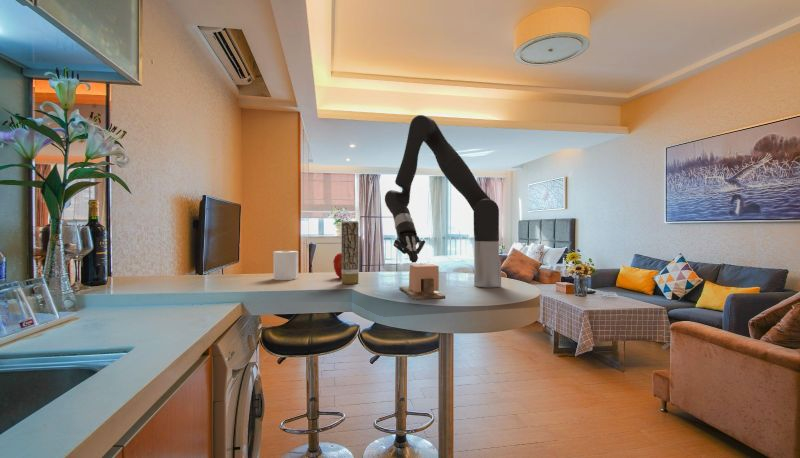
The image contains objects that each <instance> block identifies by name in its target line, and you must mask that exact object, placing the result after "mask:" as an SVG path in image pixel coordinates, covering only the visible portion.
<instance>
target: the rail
mask: <svg viewBox="0 0 800 458" xmlns="http://www.w3.org/2000/svg"><path fill="white" fill-rule="evenodd" d="M408 273H409V274H408V275H409V278H408V285H409V286H407V285H406V286H399V290H400V289H401V290H400V291H402V290H403V291H404V292H403V291H402V292H403V293H405V292H406V293H407V294H409V295H410V296H411V297H410V296H409V295H408V296H409V297H410V298H412V297H413V298H414V300H415V299H420V300H431V299H430V298H439V299H446V295H445V294H443V293H442V292H440V291H434V279H421V292H414V291H413V290H411V289H410V272H408ZM406 293H405V294H406ZM407 294H406V295H407ZM413 298H412V299H413ZM428 298H429V299H428Z"/></svg>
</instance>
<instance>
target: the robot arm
mask: <svg viewBox="0 0 800 458" xmlns="http://www.w3.org/2000/svg"><path fill="white" fill-rule="evenodd" d="M408 128H409V129H408V133H407V139H406V144H405V148H404V153H403V157H402V160H401V163H400V166H399V168H398V172H397V175H396V177H395V181H394V184H395V185H396V186H397V187H400V188H402V191H399V190H394V189H389V190H388V191H387V192H386V193H385V195H384V202H385V206H386V207H387V209H388V211H389V212H390V213H391V214H392V217H393V222H394V228H395V231H396V235H397V236H396V237H397V239H395V240H394V242H393V246H394V247H395V248H396V249H397V250H398V251H400V252H401V253H402V254H404V255H407V256H408V258H409V261H410V262H411V263H413V264H414V263H417V262H418V259H419V257H418V255H419V254H420V253H421V251H422V249H423V248H424V246H425V244H426V240H425V239H424V240H421V239H420V237H419V236H418V234H417V230H416V227H415V223H414V221H413V218H412V217H411V216H412V215H411V213H410V209H409V208H408V206H409V204H410V200H411V199H410V198H411V189H412V185H413V182H414V179H415V176H416V174H417V169H418V161H419V160H418V159H419V153H420V150H421V147H422V145H423V143H425V144H426V145H427V146H428V148H429V149H430V150H431V152H432V153H433V155H434V157H435V160H436V162H437V165H438V167H439V169H440V171H441V172H442V174H443V175H444V177H445V178H446V179H447V181H448V182H449V183H450V184H451V185H452V186H453V188H455V189H456V191H458V193H460V194H461V195H462V196H463V198H464V199H465V200H466V202H467V203H468V204H469V206H470V208H471V209H472V211H473V242H474V243H473V245H474V246H473V248H474V249H473V253H474V254H473V259H474V260H473V261H474V262H473V263H474V264H473V267H474V270H473V274H474V276H473V281H474V282H473V285H474V286H475V287H478V288H497V287H498V288H499V287H502V261H501V260H500V208H499V206H498V204H497V203H496V202H495V200H493V199H491V198H490V197H489V196H488V194H486V192H485V191H484V189H482V187H481V186H480V185H479V182H478V181H477V179H476V177H475V176H474V174H473V172H472V171H471V169H470V168H469V165H467V163H466V162H465V160H464V159H463V158H462V157H461V155H459V154H458V152H457V150H455V148H454V147H453V146H452V145H451V144H450V143H449V142H448V141H447V139H446V138H445V136H444V134H443V133H442V131H441V129H440V128H439V126H438V124H437V123H436V121H435V120H434V118H433V119H432V118H431V117H428V116H426V115H424V114H423V115H422V114H420V115H419V114H418V115H416V116H415V117H413V118H412V119H411V121H410V125H409V127H408ZM417 245H418V246H417Z"/></svg>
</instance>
